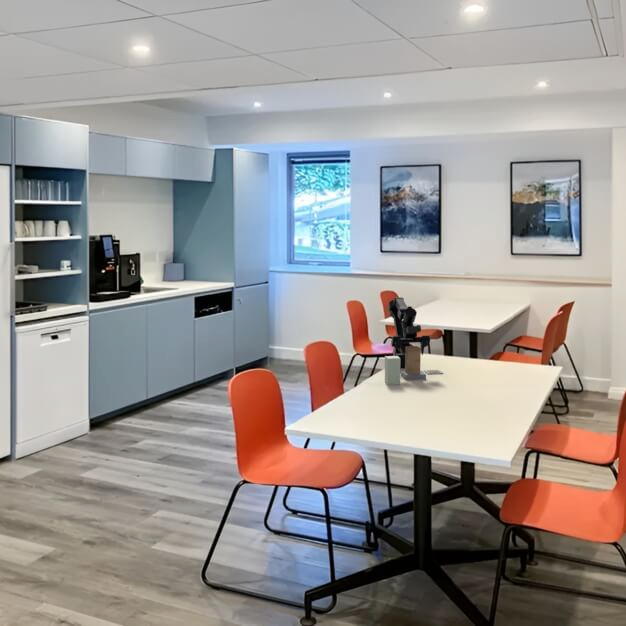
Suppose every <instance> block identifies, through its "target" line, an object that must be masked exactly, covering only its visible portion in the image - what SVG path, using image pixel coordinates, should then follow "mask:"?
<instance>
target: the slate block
mask: <svg viewBox="0 0 626 626" xmlns="http://www.w3.org/2000/svg"><path fill="white" fill-rule="evenodd" d="M400 377H402V378H403V380H405V381H416V380H417V381H419V380H420V381H421V380H427V373H425V372H424V371H422V370H421V369H420V374H407V373H406V372H405V370H400Z"/></svg>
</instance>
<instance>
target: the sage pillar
mask: <svg viewBox="0 0 626 626" xmlns="http://www.w3.org/2000/svg"><path fill="white" fill-rule="evenodd" d="M384 383H385V384H386V385H387V386H392V385H393V386H395V385H396V386H399V384H400V385H401V368H400V358H399V357H398V356H394V355H388V356H387V355H384Z"/></svg>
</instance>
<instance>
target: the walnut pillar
mask: <svg viewBox="0 0 626 626" xmlns="http://www.w3.org/2000/svg"><path fill="white" fill-rule="evenodd" d="M421 356H422V354H421V347H419V346H418V345H411V346H405V368H404V371H405V372H406V373H407V374H420V370H421Z"/></svg>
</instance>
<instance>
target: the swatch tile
mask: <svg viewBox="0 0 626 626" xmlns="http://www.w3.org/2000/svg"><path fill="white" fill-rule="evenodd" d="M423 372H424V373H425V374H426V375H444V372H443V371H441V370H440V369H427V370H426V369H425V370H424V369H423Z"/></svg>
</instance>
